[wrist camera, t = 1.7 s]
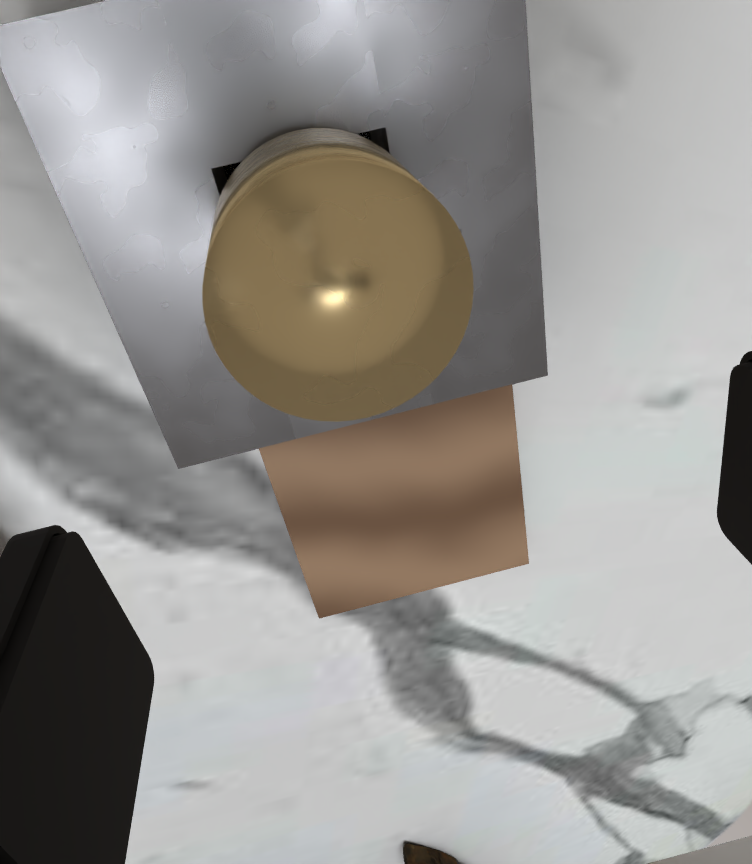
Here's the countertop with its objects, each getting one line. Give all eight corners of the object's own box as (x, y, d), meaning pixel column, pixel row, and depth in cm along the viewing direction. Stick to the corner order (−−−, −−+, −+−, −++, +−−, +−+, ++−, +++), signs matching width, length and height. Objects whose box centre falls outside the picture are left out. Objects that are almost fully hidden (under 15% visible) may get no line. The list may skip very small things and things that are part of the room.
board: (256, 429, 29) (256, 441, 28) (503, 366, 29) (511, 377, 28) (317, 603, 35) (318, 618, 34) (522, 550, 35) (528, 563, 34)
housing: (27, 27, 20) (-17, 28, 17) (475, -77, 21) (519, -95, 17) (187, 414, 28) (178, 468, 24) (512, 332, 28) (547, 375, 25)
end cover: (193, 131, 22) (159, 199, 14) (379, 87, 23) (455, 128, 14) (249, 307, 26) (249, 447, 17) (409, 268, 26) (486, 387, 18)
